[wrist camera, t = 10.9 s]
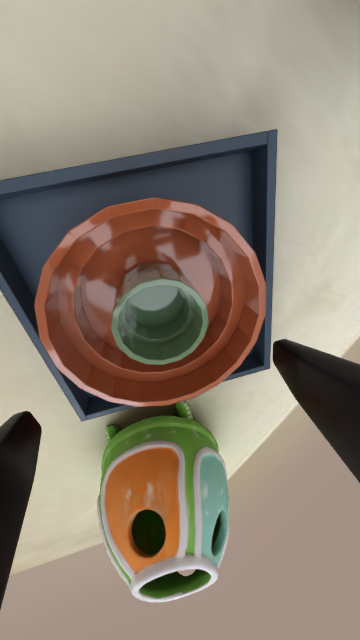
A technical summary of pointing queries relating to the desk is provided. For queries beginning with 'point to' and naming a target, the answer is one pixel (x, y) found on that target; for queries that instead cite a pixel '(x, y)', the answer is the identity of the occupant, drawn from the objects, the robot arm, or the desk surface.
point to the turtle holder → (164, 505)
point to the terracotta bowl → (108, 271)
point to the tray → (130, 185)
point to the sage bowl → (158, 315)
